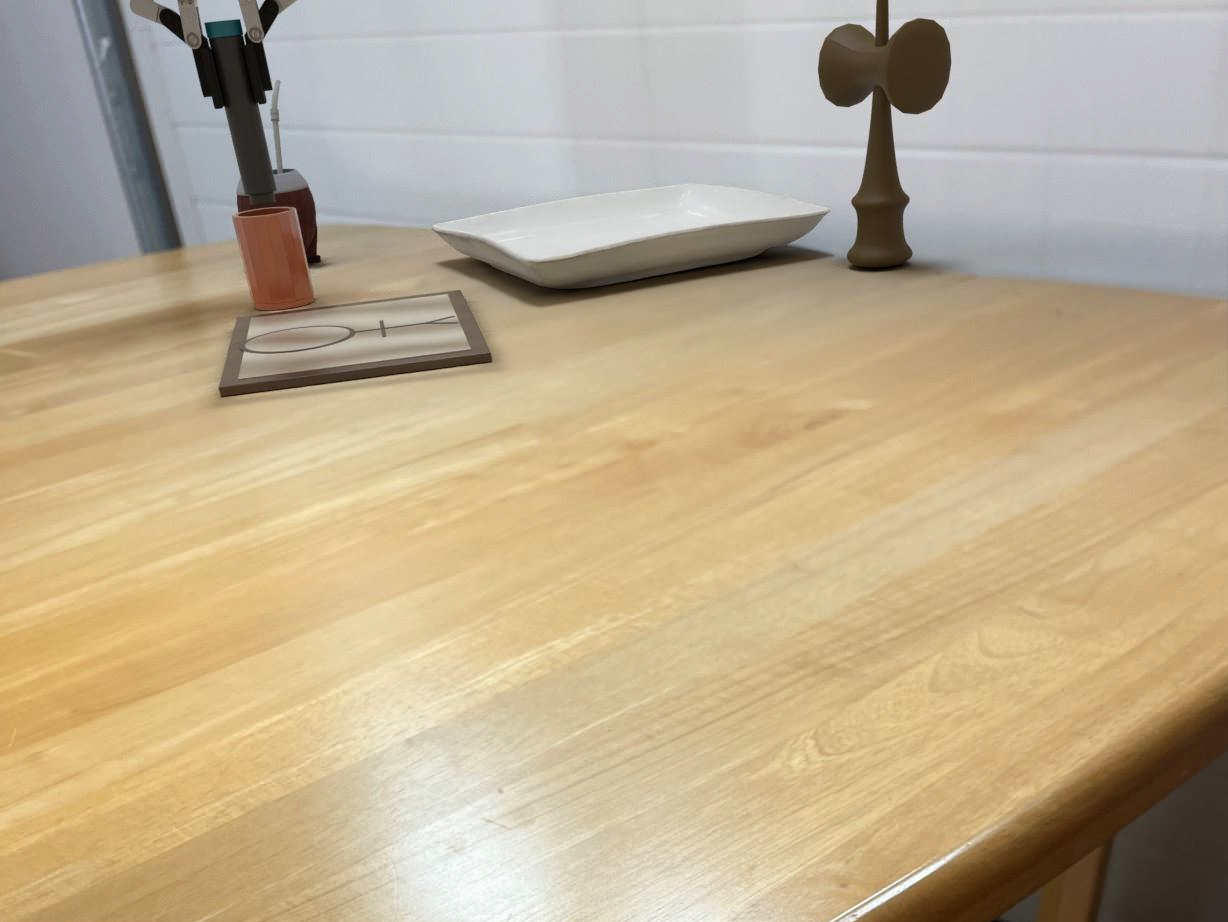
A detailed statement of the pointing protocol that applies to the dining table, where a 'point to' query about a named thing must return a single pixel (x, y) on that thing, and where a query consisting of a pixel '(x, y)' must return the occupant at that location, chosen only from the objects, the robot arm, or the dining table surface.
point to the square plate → (631, 233)
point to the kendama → (884, 115)
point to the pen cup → (274, 258)
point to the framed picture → (351, 342)
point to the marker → (242, 110)
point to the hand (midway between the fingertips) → (240, 102)
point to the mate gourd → (288, 191)
